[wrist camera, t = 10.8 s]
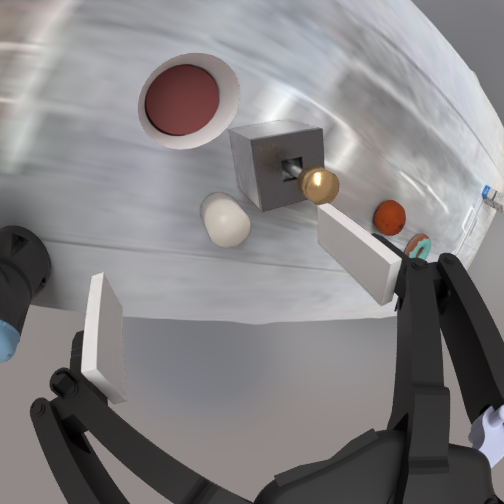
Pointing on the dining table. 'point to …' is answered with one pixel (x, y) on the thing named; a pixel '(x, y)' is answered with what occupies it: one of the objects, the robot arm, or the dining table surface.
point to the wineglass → (189, 101)
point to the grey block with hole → (274, 159)
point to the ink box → (493, 198)
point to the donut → (418, 247)
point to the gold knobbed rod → (314, 182)
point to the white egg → (224, 220)
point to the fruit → (390, 218)
